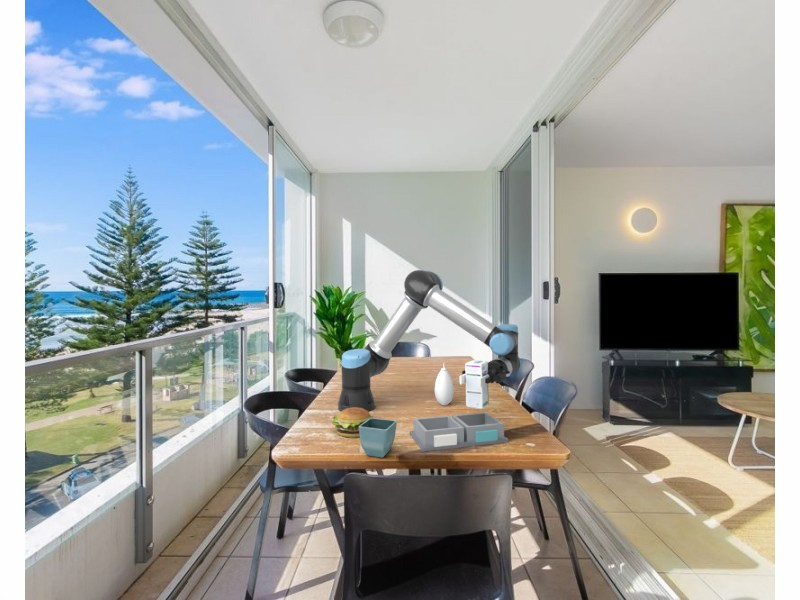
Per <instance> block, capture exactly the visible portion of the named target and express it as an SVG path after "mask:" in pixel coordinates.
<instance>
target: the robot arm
mask: <svg viewBox="0 0 800 600" xmlns="http://www.w3.org/2000/svg"><path fill="white" fill-rule="evenodd" d="M403 285H404V286H403V287H404V299H403V300H402V301H401V303H400V304H399V305H398V307H397V308H396V310H394V311H395V312H394V313H393V314H392V315H391V317H390V318H389V320H388V321H387V322H386V324H385V326H384V327H383V328H382V329H381V331H380V332H379V334H378V336H377V337H376V339H375V340H370V341H369V342H368V344H367V345H366V347H365V348H355V349H348V350H347V351H344V352H343V353H342V355H341V363H340V364H341V391H340V395H339V399H338V402H337V409H338V411H340V412H341V411H342V410H344V409H347V408H352V407H358V408H363V409H365V410H367V411H368V412H370V411H372V410H374V409H375V408H376V401H375V398H374V395H373V392H372V388H371V378H372V377H374V376H375V377H376V376H378V375H380V374H382V373H383V372H384V371H386V370H387V368H388V367H389V364H390V360H391V359H392V357H393V354H392V351H393V350H394V349H395V347H396V345H398V343H399V341H400V340H401V339H402V337H403V336H404V335H405V333H406V331H407V330H408V329H409V328H410V327H411V325H412V323H413V322H414V321H415V319H416V318H417V317H418V315H419V314H420V312H421V311H422V310H425V309H428V307H430V308H431V309H433V310H434V311H436V312H437V313H439V314H440V315H441V316H442V317H445V318H446V319H447V320H448V321H450V322H452V323H453V324H454V325H456V326H457V327H459V328H461V329H462V330H464V331H465V332H467V334H470V335H471V336H473V337H474V338H475V339H476V340H479V341H480V342H482V343H483V344H484V345H486V346H487V347H489V349H490V350H491V352H492V353H493V354H495V355H497V358H495V359H492V360H490V361H487V362H488V375H485V376H483V377H480V378H479V387H482V386H485V385H487V384H488V385H489V384H494V383H495V384H501V383H502V382H504V381H506V380H509V379H510V378H511V377H510V376H513V375H516V374H517V373H518V372H519V371H520V370H521V368H522V364H523V363H522V360H521V358H520V356H519V329H518V327H519V326H518V325H517V324H515V323H513V324H512V323H508V324H507V323H504V324H503V323H502V324H499V325H497V326H496V325H495V324H493V323H492V322H491V321H489V320H487V319H486V318H484V317H483V316H481V315H480V314H478V313H477V312H475V311H474V310H472V309H471V308H469V307H467V305H464V304H463V303H462V302H460V301H458V300H457V299H456V298H455V297H453V296H451V295H450V294H448V293H447V292H445V291H444V290H443V288H444V286H443V281H442V279H441V276H439V275H438V274H437V273H436V272H434V271H430V270H422V269H416V270H413V271H411V272H410V273H408V275H407V276H406V277H405V279H404V283H403ZM461 373H462V374H460V375H459V378H458V380H459V385H465V384H466V373H465V370H462V371H461Z"/></svg>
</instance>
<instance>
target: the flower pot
mask: <svg viewBox="0 0 800 600" xmlns="http://www.w3.org/2000/svg"><path fill="white" fill-rule="evenodd" d="M397 422H398V421H397V420H395V419H394V420H392V419H386V418H376V417H373V418H370V419H368V420H367V421H366V422H364V423H363V424H361V425H360V426H359V433H360V437H359V438H360V445H361V447H362V449H363V451H364V453H365V454H366V456H368V457H369V456H370V457H375V458H384V457H385V456H386V455H387V454H388V453H389V452H390V450H391V449H392V446H393V444H394V442H395V439H396V430H397Z"/></svg>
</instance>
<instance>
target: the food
mask: <svg viewBox="0 0 800 600" xmlns="http://www.w3.org/2000/svg"><path fill="white" fill-rule="evenodd" d="M370 418H374V416H373V415H371V414H370V411H367V410H365V409H363V408H358V407H352V408H347V409H344V410H342V411H340V412H339V413H338V414H337V415H334V416H333V419H332V420H331V424H332V425H333V426H334V428H335V431H336V433H337V435H338V436H341V437H342V438H343V437H344V438H360V433H359V426H360V425H361V424H363V423H364V422H366V421H367V420H368V419H370Z"/></svg>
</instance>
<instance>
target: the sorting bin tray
mask: <svg viewBox="0 0 800 600" xmlns="http://www.w3.org/2000/svg"><path fill="white" fill-rule="evenodd" d="M409 436H410V437H411V436H412V437H411V438H412V439H413V441H414V440H415V441H414V442H415V443H416V444H417V446H418V447H419V449H420V450H421V451H422V452H423V453H424V452H431V451H432V452H433V451H439V450H440V451H441V450H449V449H458V448H466V447H477V446H485V445H494V444H504V443H509V438H508V437H506V436H505V423H504V422H502V421H500V420H499V419H498V418H495V417H494V416H493V415H491V414H489V413H488V412H475V413H464V414H453V415H441V416H431V417H421V418H420V417H417V418H413V430H410V431H409Z"/></svg>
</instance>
